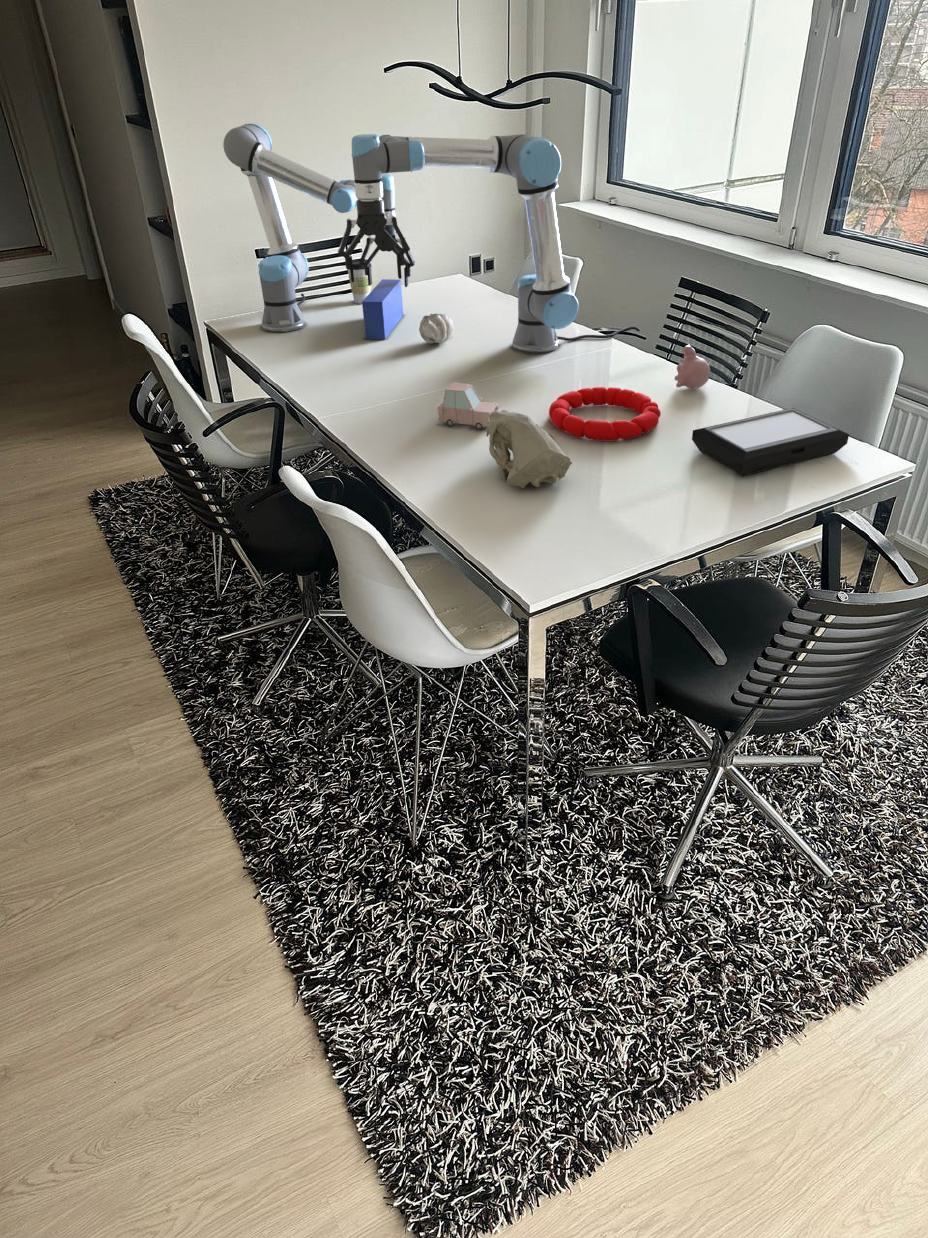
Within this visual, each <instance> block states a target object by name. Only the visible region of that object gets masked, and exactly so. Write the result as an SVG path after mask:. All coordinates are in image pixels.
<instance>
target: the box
mask: <svg viewBox="0 0 928 1238" xmlns="http://www.w3.org/2000/svg"><path fill="white" fill-rule="evenodd" d="M361 305H362V315H363V326H364V339H365V340H376V341H377V340H383V341H385V340H386V339H387V338H388V337H389V335H390V334H391V332H392V331H393V330H394V328H395V327H396V326H397V325H398V323H399V322H400V320H401V319H402V318H403V316H404V305H403V289H402V279H391V278H389V279H381V280H380V281H379V282H378V284H376V286H375V287H374V288H373V289H372V290H371V292H370V293H369V295H368V296H367V297H366V298H365V299H364V300H363V301H362V304H361Z"/></svg>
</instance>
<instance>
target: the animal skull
mask: <svg viewBox="0 0 928 1238" xmlns="http://www.w3.org/2000/svg"><path fill="white" fill-rule="evenodd" d="M485 436H486V438H487V437H489V438H488V440H489V444H488V445H489V446H488V450H489V454H490V456H491V457H492V458H493V459H494V460H495V462H496V464H497V466H499V468H500V470H501V471H502V472H501V478H502V479H507V480H506V484H507V486H517V487H518V486H519V488H523V489H524V488H526V486H527V485H529V483H531V485H533V486H534V487H536V488H540V485H541V484H542V482H544V483H549V484H550V485H553V484H555V483H556V482H557V480H561V479H563V478H565V476H566V474H567V472H568V471H569V469H570V467H571V466H572V464H573V462H572V461H571V458H570V457H568V456H567V455H565V453H564V451H562V449H561V448H560V446H559V444H557V443H556V439H555V438H554V436H553V435H551V434H550V433H548V432H547V431H546V430H545V429H544V428H542V427H541V426H539V425H538V424H537V423H536V424H535V422H534V421H533V419H532V418H531V417H530V416H529V415H527V414H524V413H519V412H515V411H509V410H507V409H502V410H500V411H499V410H497V411H496V412H492V413H491V414H490V422H488V423H487V427H486V435H485ZM511 453H512V454H511ZM511 455H512V457H513V458H512V460H511ZM507 474H508V475H507Z"/></svg>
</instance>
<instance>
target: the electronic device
mask: <svg viewBox="0 0 928 1238" xmlns="http://www.w3.org/2000/svg"><path fill="white" fill-rule="evenodd" d="M849 437H850V433H848V432H846V431H843V430H841V429H839V428H837V427H836V426H833V425H831V424H828V423H827V422H824V421H822V420H820V419H818V418H816V417H814V416H812V415H810V414H807V413H806V412H803V411H801V410H800V409H797V408H795V407H790V408H786V409H781V410H777V411H772V412H768V413H764V414H760V415H755V416H750V417H746V418H742V419H736V420H732V421H728V422H724V423H719V424H714V425H710V426H706V427H701V428H697V429H692V434H691V441H692V442H693V443H694V446H695V447H696V448H697V449H698V451H699V452H700V453H702V454H704V455H705V456H707V457H709V458H711V459H712V460H713V461H715V462H717V463H719V464H720V465H723V466H725V467H726V468H728V469H729V470H731V471H733V472H735V473H736V474H738V475H739V476H740V477H744V476H746V475H751V474H752V475H753V474H755V473H759V472H764V471H768V470H772V469H776V468H780V467H784V466H788V465H792V464H795V463H800V462H804V461H808V460H812V459H817V458H820V457H826V456H828V455H834V454H836V453H837V452H839V451H840V450H841V449H842V448H843V447H845V446H846V445H847V444H848V443H849Z"/></svg>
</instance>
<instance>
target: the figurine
mask: <svg viewBox="0 0 928 1238" xmlns="http://www.w3.org/2000/svg"><path fill="white" fill-rule="evenodd" d="M682 354H683V358H684V359H683V361H682V362H679V363H678V364H677V365H676V372H677V375H675V376H674V381H675V382H676V381H677V382H676V384H675V386H676V388H681V387H686V388H688V389H693V390H694V389H695V390H696V389H700V388H703V387H704V386H705V385H706V384H707V383H708V382H709V379H710V377H711V367H710V364H709V362H708V361H706V359H704V358H702V357H700V356H697V353H696V350H695V349H694V347H692V345H690V344H686V345H685V346H684V347H683V348H682Z"/></svg>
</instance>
